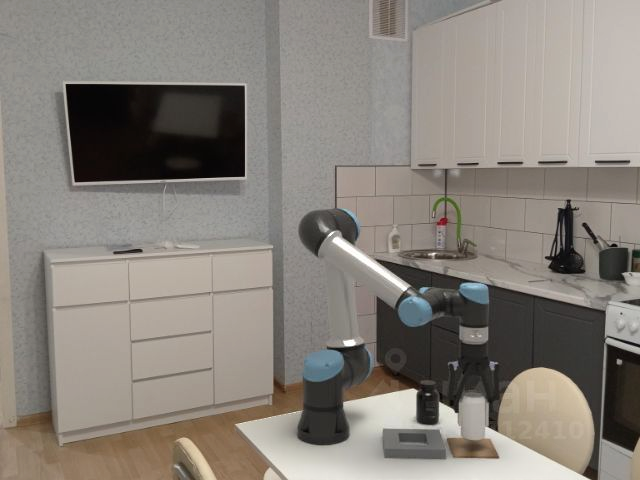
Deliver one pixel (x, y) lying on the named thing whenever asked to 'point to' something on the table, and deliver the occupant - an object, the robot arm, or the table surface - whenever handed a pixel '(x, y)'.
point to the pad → (472, 448)
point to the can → (473, 415)
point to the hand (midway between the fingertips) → (472, 424)
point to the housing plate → (425, 451)
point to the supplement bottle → (427, 403)
